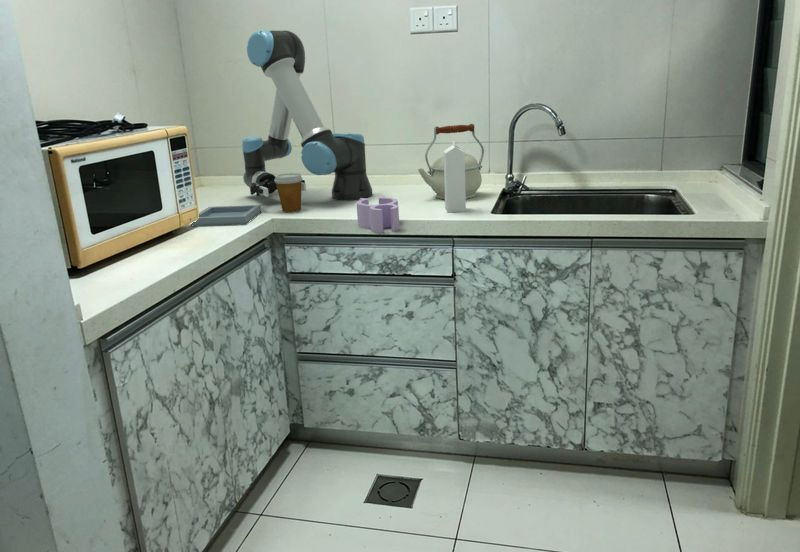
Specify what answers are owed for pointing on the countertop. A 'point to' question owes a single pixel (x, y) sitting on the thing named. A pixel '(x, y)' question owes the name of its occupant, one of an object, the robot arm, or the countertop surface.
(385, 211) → the clip
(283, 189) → the disposable coffee cup
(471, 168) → the kettle
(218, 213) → the tray
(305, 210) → the countertop surface
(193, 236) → the countertop surface
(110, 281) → the countertop surface
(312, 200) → the countertop surface
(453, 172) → the milk
